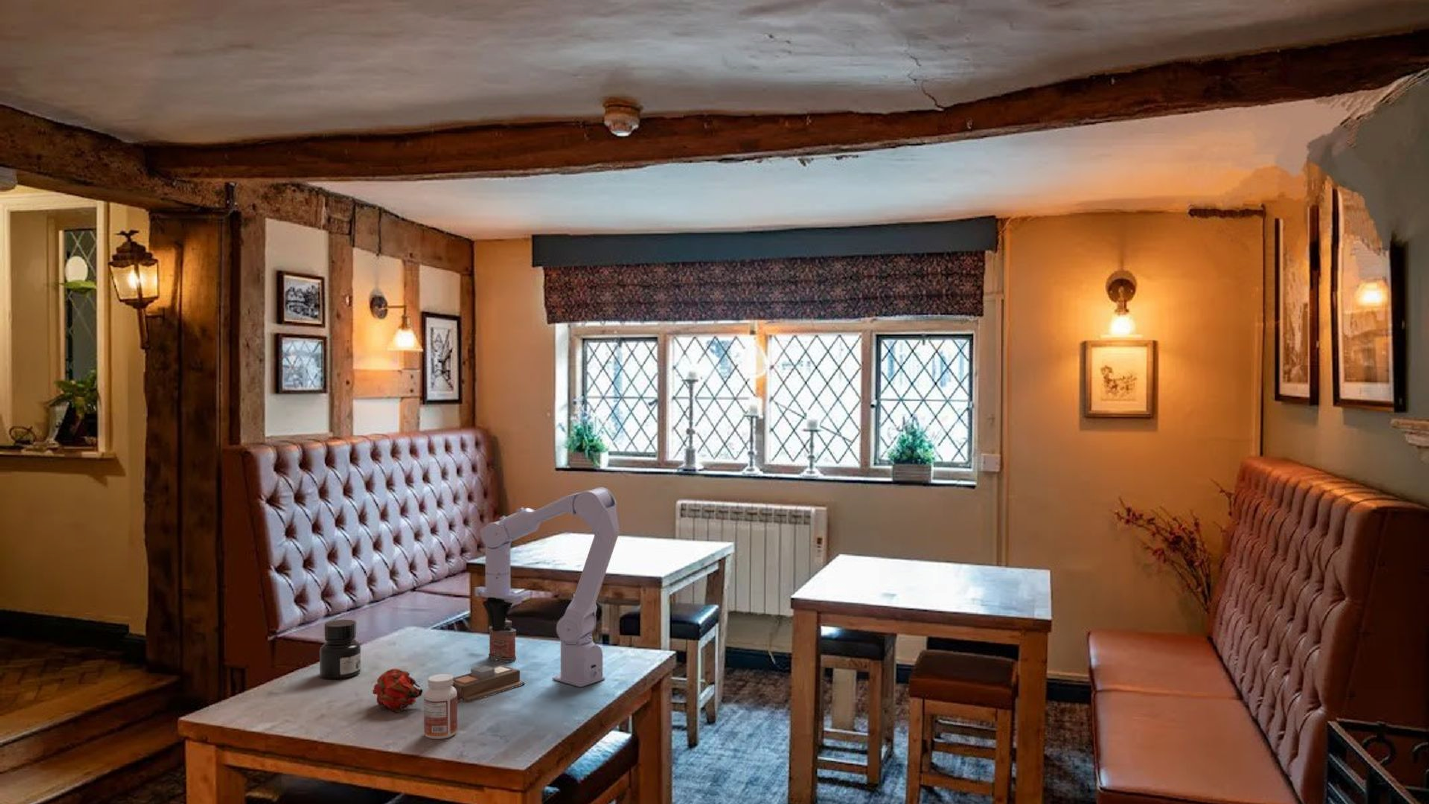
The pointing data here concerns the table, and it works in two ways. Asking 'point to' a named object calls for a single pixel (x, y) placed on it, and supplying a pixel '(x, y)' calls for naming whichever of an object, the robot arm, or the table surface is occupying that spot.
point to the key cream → (501, 670)
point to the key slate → (482, 672)
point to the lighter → (503, 643)
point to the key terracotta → (466, 680)
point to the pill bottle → (440, 707)
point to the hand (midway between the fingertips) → (497, 630)
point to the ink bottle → (340, 651)
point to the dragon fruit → (396, 690)
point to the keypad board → (487, 685)
